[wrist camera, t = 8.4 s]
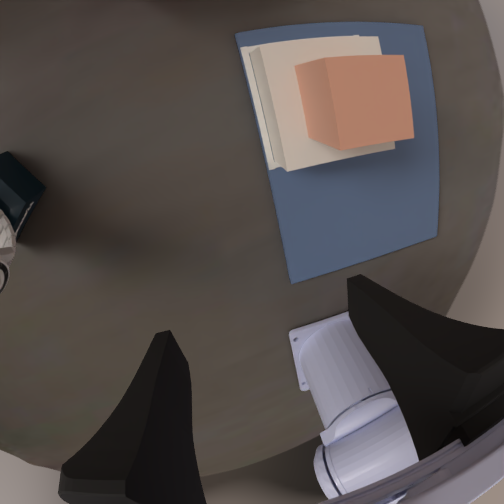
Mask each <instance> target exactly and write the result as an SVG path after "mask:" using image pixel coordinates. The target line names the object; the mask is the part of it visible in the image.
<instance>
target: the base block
mask: <svg viewBox="0 0 504 504" xmlns="http://www.w3.org/2000/svg"><path fill="white" fill-rule="evenodd" d="M357 55H382V52H381V48H380V43H379V38H378V36H358V37H332V38H317V39H306V40H297V41H288V42H280V43H273V44H267V45H261V46H258V47H257V48H256V49H255V50H253V51H252V52H251V53H250V58H251V62H252V66H253V70H254V74H255V78H256V82H257V86H258V91H259V95H260V99H261V103H262V108H263V112H264V116H265V121H266V125H267V130H268V134H269V139H270V143H271V148H272V152H273V157H274V161H275V162H276V163H278V164H279V165H280V166H281V167H282V168H284V169H285V170H286V171H287V172H289V171H293V170H297V169H301V168H305V167H310V166H314V165H318V164H323V163H327V162H332V161H336V160H341V159H346V158H350V157H355V156H360V155H365V154H370V153H375V152H380V151H386V150H391V149H395V142H394V141H392V142H386V143H380V144H374V145H368V146H363V147H357V148H352V149H347V150H341V151H340V150H338V149H335V148H333V147H331V146H328V145H326V144H323V143H321V142H318V141H316V140H314V139H311V138H309V137H308V132H307V126H306V121H305V115H304V110H303V105H302V100H301V95H300V90H299V85H298V81H297V76H296V72H295V67H294V66H295V65H299V64H302V63H306V62H310V61H313V60H317V59H321V58H326V57H339V56H357Z"/></svg>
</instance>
